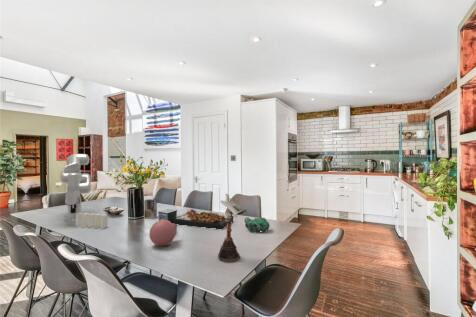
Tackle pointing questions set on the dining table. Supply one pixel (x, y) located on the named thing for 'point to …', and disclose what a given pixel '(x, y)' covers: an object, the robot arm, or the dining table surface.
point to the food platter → (201, 219)
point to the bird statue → (228, 248)
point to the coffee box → (150, 209)
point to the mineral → (256, 224)
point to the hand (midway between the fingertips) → (73, 213)
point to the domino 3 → (91, 220)
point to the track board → (94, 228)
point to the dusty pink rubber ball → (162, 232)
